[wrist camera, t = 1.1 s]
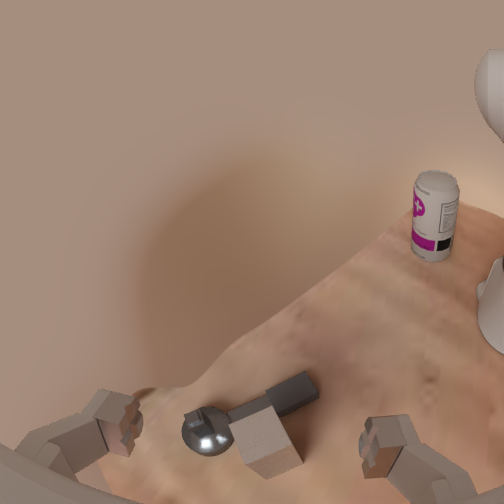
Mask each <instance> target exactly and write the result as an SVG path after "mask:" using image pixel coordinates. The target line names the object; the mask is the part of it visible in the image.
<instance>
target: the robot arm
mask: <svg viewBox="0 0 504 504" xmlns="http://www.w3.org/2000/svg"><path fill="white" fill-rule="evenodd" d="M474 88H475V96H476V101H477V104H478V107H479V109H480V112H481V114H482V116H483V118H484V119H485V121H486V123H487V124H488V126H489V127H490V128H491V129H492V130H493V131H494V132H495V133H496V134H497V135H498V137H499V138H500V139H501V141H502V142H503V143H504V49H490V50H489V51H488V52H487V53H486V54H485V55H484V56H483V57H482V59H481V60H480V62H479V64H478V67H477V69H476V74H475V80H474ZM476 294H477V297H478V300H479V307H478V323H479V326H480V329H481V332H482V334H483V335H484V337H485V339H486V340H487V341H488V342H489V344H490V345H491V346H492V347H494V348H495V349H496V350H497V351H499V352H501V353H502V354H504V256H502V257H500V258H499V259H496V260H495V261H494V264H493V266H492V269H491V271H490V274H489V276H488V278H487V279H486V280H485V281H483V282H481V283H479V284H478V286H477V288H476ZM139 407H140V402H139V399H138V398H136V397H132V396H128V395H124V394H121V393H117V392H112V391H108V390H105V389H100V390H98V391H97V393H96V394H95V395H94V397H93V398H92V399H91V401H90V402H89V403H88V405H87V406H86V407H85V409H84V410H83V411H82V413H81V414H79V413H76V414H74V415H71V416H69V417H67V418H64V419H61V420H59V421H56V422H54V423H51V424H49V425H46V426H43V427H41V428H38V429H35V430H33V431H30V432H29V433H28V434H27V435H26V437H25V438H24V439H23V440H22V442H21V443H20V444H19V445H18V446H17V448H16V449H15V450H14V451H13V450H11V449H10V448H8V447H6V446H5V445H3V444H1V443H0V504H143V503H139V502H136V501H132V500H129V499H125V498H122V497H119V496H116V495H113V494H110V493H107V492H104V491H101V490H98V489H96V488H93V487H90V486H88V485H85V484H82V483H80V482H79V481H78V479H77V478H76V476H75V473H77V472H79V471H80V470H82V469H84V468H85V467H87V466H89V465H90V464H92V463H93V462H95V461H97V460H98V459H100V458H101V457H103V456H104V455H106V454H107V453H108V452H111V453H115V454H119V455H122V456H126V457H129V456H130V454H131V452H132V450H133V448H134V446H135V443H134V439H136V438H138V437H139V436H140V434H141V432H142V428H143V416H142V413H141V412H140V411H139V410H138V409H139ZM365 428H366V430H365V431H363V432H362V433H361V436H360V439H359V454H360V457H361V458H363V459H364V461H363V464H362V469H363V473H364V478H365V479H369V478H381V477H387V479H388V480H389V481H390V482H391V483H392V484H393V485H394V486H395V487H396V488H397V489H398V490H399V491H400V492H401V493H402V494H403V495H404V496H405V497H406V498H407V499H408V500H409V501H410V502H411V503H412V504H504V485H503V486H500V487H498V488H495V489H492V490H490V491H487V492H484V493H482V494H479V495H478V494H477V492H476V490H475V487H474V485H473V483H472V481H471V478H470V476H469V474H468V472H467V471H465V470H464V469H462V468H461V467H459V466H458V465H456V464H455V463H453V462H451V461H450V460H448V459H447V458H445V457H444V456H442V455H441V454H439V453H438V452H436V451H435V450H433V449H432V448H430V447H429V446H428V445H426V444H425V443H424V444H421V443H420V440H419V438H418V436H417V433H416V431H415V429H414V426H413V424H412V422H411V419H410V417H409V415H407V414H401V415H394V416H393V415H391V416H378V417H368V418H367V420H366V422H365Z"/></svg>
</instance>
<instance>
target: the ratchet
mask: <svg viewBox="0 0 504 504" xmlns="http://www.w3.org/2000/svg"><path fill="white" fill-rule="evenodd" d="M266 393H267V394H266V395H264V396H262V397H260V398H258V399H256V400H253V401H251V402H249V403H247V404H244V405H242V406H240V407H238V408H235V409H233V410H231V411H228V412H227V413H228V416H229V417H228V416H227V415H226V414H225V413H224V412H223V411H222V410H220V409H218V408H215V407H202V408H199V409H196V410H195V411H192V412H190V413H187V414H184V417H185V421H184V423H183V426H182V437H183V440H184V442H185V444H186V445H187V446H188V447H189V448H191V449H192V450H193V451H195V452H197V453H198V454H200V455H203V456H216V455H219V454H221V453H223V452H225V451H226V450H227V449H228V448H229V447H230V446H231V445H232V443H233V441H234V437H233V435H232V432H231V430H230V427H229V424H231V423H234V422H236V421H239V420H241V419H243V418H246V417H248V416H250V415H252V414H255V413H257V412H259V411H261V410H263V409H266V408H268V407H270V406H273V408H274V410H275V412H276V414H277V415H278V416H279V417H282V416H284V415H286V414H288V413H290V412H292V411H294V410H296V409H298V408H300V407H302V406H304V405H306V404H308V403H310V402H312V401H313V400H315V399H317V398H319V394H318V391H317V389H316V388H315V386H314V385H313V383H312V381H311V380H310V378H309V377H308V375H307V373H306V372H305V371H304V372H302V373H300V374H298V375H296V376H295V377H293V378H291V379H289V380H287V381H284V382H282V383H280V384H278V385H276V386H274V387H272V388H270V389H268V390H266Z"/></svg>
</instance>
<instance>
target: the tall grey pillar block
mask: <svg viewBox="0 0 504 504" xmlns="http://www.w3.org/2000/svg"><path fill="white" fill-rule="evenodd" d="M229 427H230V430H231V432H232V435H233V437H234V440H235V442H236V444H237V447H238V449H239V452H240V454H241V456H242V459H243V461H244V463H245V465H246V466H248V467H249V468H250V469H252V470H253V471H255V472H256V473H258V474H259V475H260V476H262V477H263V478H265V479H266V480H268V479H270V478H272V477H275V476H277V475H279V474H282V473H284V472H286V471H288V470H291V469H293V468H295V467H297V466H299V465H301V464H303V462H302V460H301V458H300V456H299V454H298V452H297V451H296V449H295V447H294V445H293V443H292V441H291V439H290V437H289V435H288V434H287V432H286V430H285V428H284V426H283V425H282V423H281V421H280V419H279V417H278V415H277V414H276V412H275V410H274V408H273V406H270V407H268V408H266V409H263V410H261V411H259V412H257V413H255V414H252V415H250V416H248V417H246V418H243V419H241V420H239V421H236V422H234V423H231V424H229Z"/></svg>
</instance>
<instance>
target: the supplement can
mask: <svg viewBox="0 0 504 504" xmlns="http://www.w3.org/2000/svg"><path fill="white" fill-rule="evenodd" d="M459 193H460V190H459V188H458V185H457V181H456V179H455V178H454V177H453V176H452V175H451V174H449V173H447V172H443V171H439V170H427V171H424V172H422V173H420V174H419V175H418V178H417V180H416V182H415V184H414V196H413V220H412V236H411V249H412V251H413V252H414V254H415V255H417V256H418V257H419V258H420V259H422V260H424V261H427V262H439V261H441V260H443V259H446V258H447V257H448V256H449V255H450V252H451V248H452V243H453V237H454V231H455V224H456V217H457V210H458V202H459Z"/></svg>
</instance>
